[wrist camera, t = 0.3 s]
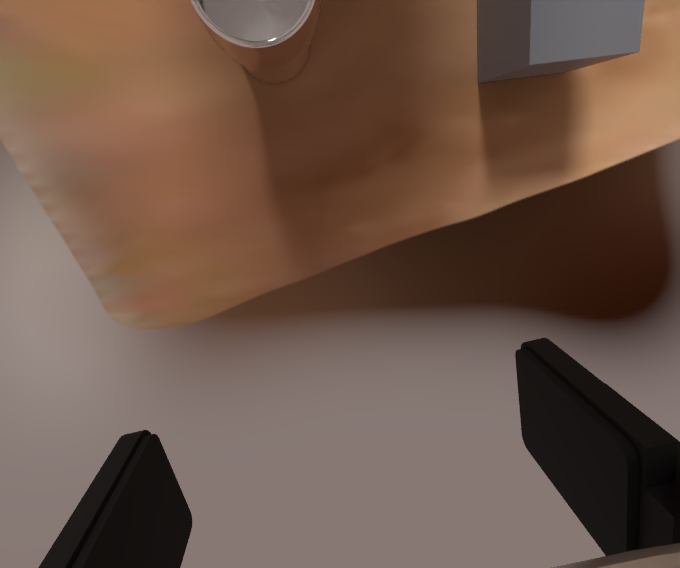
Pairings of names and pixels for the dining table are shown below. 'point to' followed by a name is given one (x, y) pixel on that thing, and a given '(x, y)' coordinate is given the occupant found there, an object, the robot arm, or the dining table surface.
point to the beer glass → (262, 33)
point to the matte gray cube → (553, 35)
